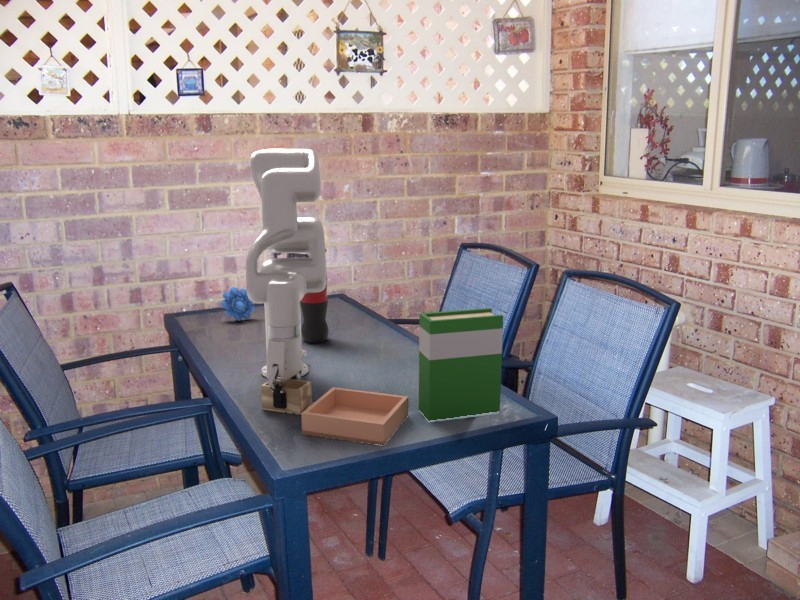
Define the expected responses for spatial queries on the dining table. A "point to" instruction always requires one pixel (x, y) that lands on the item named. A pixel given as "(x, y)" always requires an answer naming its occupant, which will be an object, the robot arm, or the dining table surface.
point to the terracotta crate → (355, 415)
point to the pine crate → (289, 396)
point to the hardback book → (459, 363)
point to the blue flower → (237, 304)
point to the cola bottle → (314, 316)
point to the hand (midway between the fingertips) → (287, 401)
